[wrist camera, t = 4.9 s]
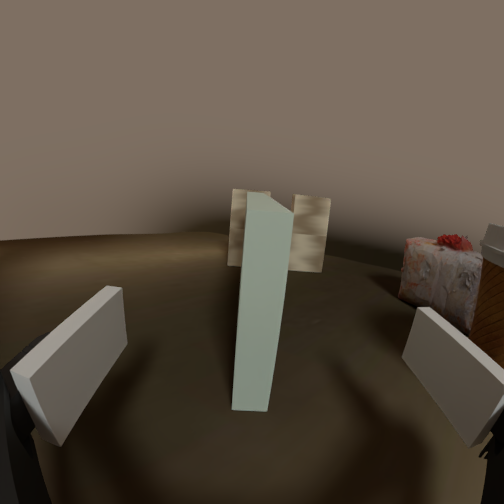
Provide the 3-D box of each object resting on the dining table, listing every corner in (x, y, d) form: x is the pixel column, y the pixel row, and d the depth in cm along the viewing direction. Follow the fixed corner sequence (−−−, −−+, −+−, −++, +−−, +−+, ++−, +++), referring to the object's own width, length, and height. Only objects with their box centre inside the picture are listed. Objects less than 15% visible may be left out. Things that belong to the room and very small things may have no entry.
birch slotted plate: (227, 265, 43) (232, 189, 40) (228, 261, 45) (233, 188, 42) (321, 272, 43) (330, 198, 41) (317, 267, 46) (326, 197, 43)
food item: (385, 296, 35) (399, 221, 33) (420, 291, 38) (434, 225, 35) (465, 342, 22) (492, 247, 20) (492, 327, 25) (514, 248, 23)
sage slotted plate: (266, 411, 15) (293, 213, 12) (231, 409, 15) (246, 209, 12) (255, 278, 38) (263, 192, 36) (240, 277, 38) (247, 191, 36)
